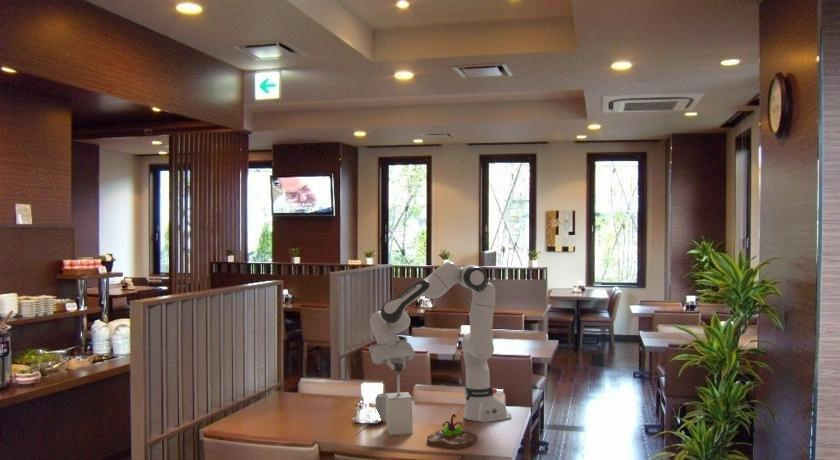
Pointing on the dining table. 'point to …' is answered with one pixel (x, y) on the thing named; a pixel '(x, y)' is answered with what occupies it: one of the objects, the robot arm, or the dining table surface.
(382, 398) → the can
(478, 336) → the robot arm
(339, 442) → the dining table surface
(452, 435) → the plant
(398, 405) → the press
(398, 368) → the plunger
